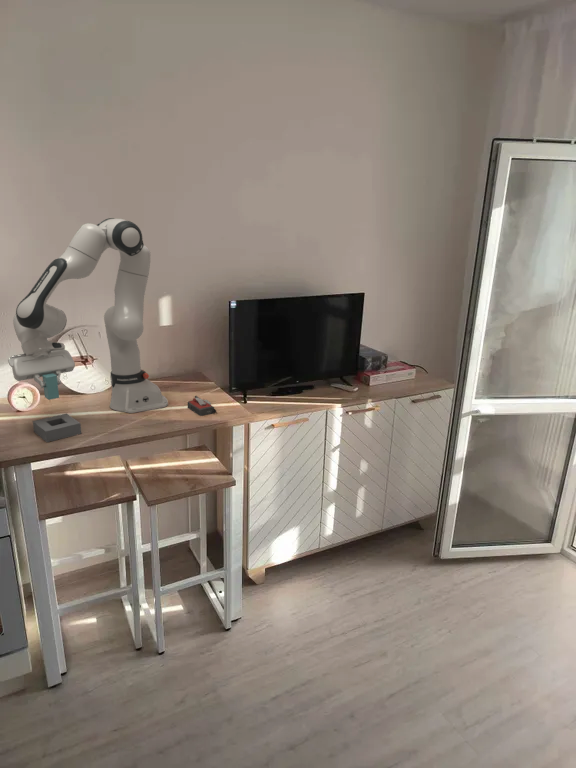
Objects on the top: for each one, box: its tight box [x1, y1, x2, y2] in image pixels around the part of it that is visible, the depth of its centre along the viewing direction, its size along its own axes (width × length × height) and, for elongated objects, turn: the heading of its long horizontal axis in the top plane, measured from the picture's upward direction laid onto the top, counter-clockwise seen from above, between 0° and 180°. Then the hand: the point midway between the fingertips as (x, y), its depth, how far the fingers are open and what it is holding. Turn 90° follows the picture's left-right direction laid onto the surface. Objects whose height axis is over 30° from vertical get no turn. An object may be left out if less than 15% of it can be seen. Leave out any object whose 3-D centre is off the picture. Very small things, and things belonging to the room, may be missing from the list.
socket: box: [32, 413, 82, 443], centre depth 203 cm, size 12×12×4 cm
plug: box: [41, 373, 60, 401], centre depth 199 cm, size 4×4×8 cm
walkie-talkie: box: [187, 395, 217, 417], centre depth 230 cm, size 9×4×20 cm
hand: (51, 385), depth 199 cm, fingers closed on plug, 4 cm apart
